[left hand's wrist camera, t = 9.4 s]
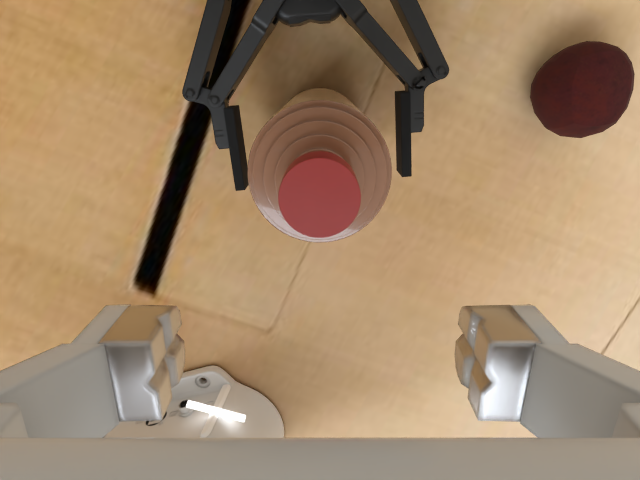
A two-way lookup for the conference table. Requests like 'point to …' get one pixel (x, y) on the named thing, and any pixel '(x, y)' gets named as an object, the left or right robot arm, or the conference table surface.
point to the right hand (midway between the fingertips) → (323, 180)
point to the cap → (319, 194)
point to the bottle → (319, 135)
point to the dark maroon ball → (583, 89)
